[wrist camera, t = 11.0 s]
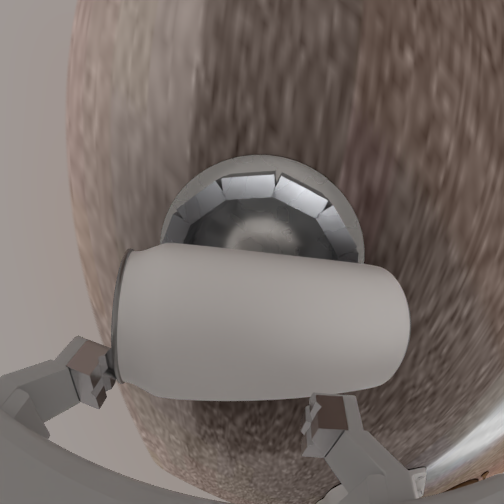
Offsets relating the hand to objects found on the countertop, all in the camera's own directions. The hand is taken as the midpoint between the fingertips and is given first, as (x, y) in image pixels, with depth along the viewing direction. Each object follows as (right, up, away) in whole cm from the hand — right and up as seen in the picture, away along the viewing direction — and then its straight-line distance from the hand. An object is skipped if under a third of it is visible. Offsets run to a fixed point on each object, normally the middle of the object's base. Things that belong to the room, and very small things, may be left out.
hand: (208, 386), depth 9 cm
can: (+8, +1, +5) cm, 10 cm away
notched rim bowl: (+2, +4, +11) cm, 12 cm away
